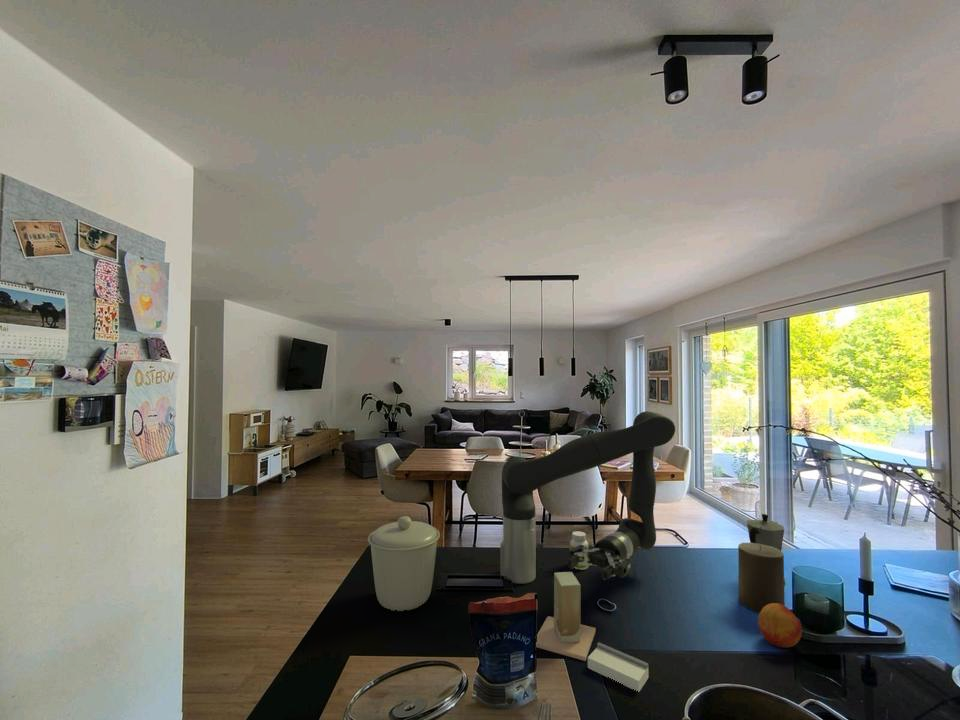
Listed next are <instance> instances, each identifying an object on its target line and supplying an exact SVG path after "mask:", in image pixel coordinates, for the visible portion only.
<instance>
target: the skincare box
mask: <svg viewBox="0 0 960 720" xmlns="http://www.w3.org/2000/svg"><path fill="white" fill-rule="evenodd" d="M553 580H554V581H553V585H554V586H553V591H554V592H553V617H554V628H555V630H556V633H557V635H558V637H559V639H560V641H561V643H574V642H580V624H581V584H580V582H579V581H578V578H577V577H576V576H575V575H574V573H573V571H561V572H560V571H558V572H554V574H553Z"/></svg>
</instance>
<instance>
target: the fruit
mask: <svg viewBox="0 0 960 720" xmlns="http://www.w3.org/2000/svg"><path fill="white" fill-rule="evenodd" d="M757 625H758V628H759V631H760V633H761V635H762V636H763V637H764V639H765V640H766V641H767V643H770V644H771V645H773V646H775V647H779V648H786V649H787V648H791V647H794V646H795V645H797V644H798V643H799V641H801V637H802V635H803V634H802V633H803V630H802V629H803V628H802V623H801V621H800V619H799V618H798V617H797V616H796V615H795V614H794V613H793V611H791V610H790V609H789V608H788V607H787V606H786V605H785V606H784V605H782V604H779V603H771V604H768V605H766V606H764V607H763V609H762V610H761V612H760V613H759V614H758V617H757Z"/></svg>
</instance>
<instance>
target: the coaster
mask: <svg viewBox="0 0 960 720" xmlns="http://www.w3.org/2000/svg"><path fill="white" fill-rule="evenodd" d="M595 635H596V627H593V626H588V625H585V624H582V623H580V642H574V643H561V641H560V639H559V637H558V635H557V633H556V630H555V628H554V616H549V615H547V617H546V618H545V620H544V622H543V624H542V625H541V627H540V629H539V630H538V633H537V634H536V636H537V642H536V647H535V648H537V649H542V650H546V651H549V652H552V653H556V654H559V655H563V656H567V657H570V658H573V659H577V660H580V661H583V662H586V660H587V659H588V654H589V652H590V649H591V646H592V643H593V640H594V637H595Z"/></svg>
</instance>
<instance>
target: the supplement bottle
mask: <svg viewBox="0 0 960 720" xmlns="http://www.w3.org/2000/svg"><path fill="white" fill-rule="evenodd" d="M571 535H572V536H571V537H572V539H571V540H570V541H569V550H571V549H573V548H575V547H577V546H579V545H583V546H584V549H586V550H589V542H588V541H587V537H586V536H587V535H586V533H585V532H583V531H572V533H571ZM579 560H582V557H580V558H579ZM587 561H589V559H588V556H587ZM574 568H575V569H574ZM574 568H573V569H574V570H578V569H579V570H581V571H583V570H587V569H589V566H585V565H584V564H578V565H577V566H576V567H574Z"/></svg>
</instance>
